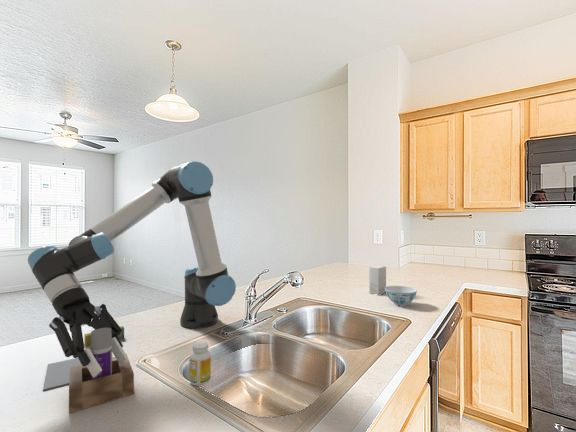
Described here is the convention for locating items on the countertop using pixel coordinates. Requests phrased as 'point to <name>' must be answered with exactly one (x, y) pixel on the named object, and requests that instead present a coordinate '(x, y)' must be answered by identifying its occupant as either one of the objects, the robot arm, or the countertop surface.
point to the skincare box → (377, 279)
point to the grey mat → (59, 373)
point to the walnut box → (99, 385)
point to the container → (102, 350)
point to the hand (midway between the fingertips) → (111, 367)
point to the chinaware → (400, 294)
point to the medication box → (88, 337)
